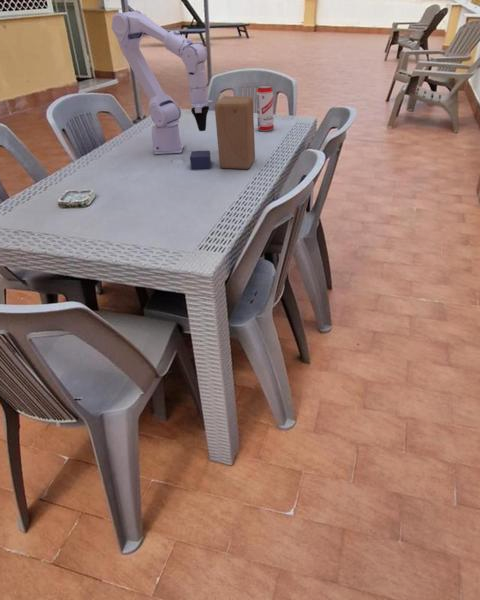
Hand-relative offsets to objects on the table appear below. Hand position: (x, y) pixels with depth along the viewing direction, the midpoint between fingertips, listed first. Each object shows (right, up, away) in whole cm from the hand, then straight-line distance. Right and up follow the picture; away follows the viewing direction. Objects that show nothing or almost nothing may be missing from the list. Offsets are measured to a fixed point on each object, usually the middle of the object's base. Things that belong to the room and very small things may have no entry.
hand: (202, 130), depth 155 cm
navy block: (0, -13, -4) cm, 14 cm away
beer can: (+22, +10, +28) cm, 37 cm away
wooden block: (+12, -13, -4) cm, 18 cm away
